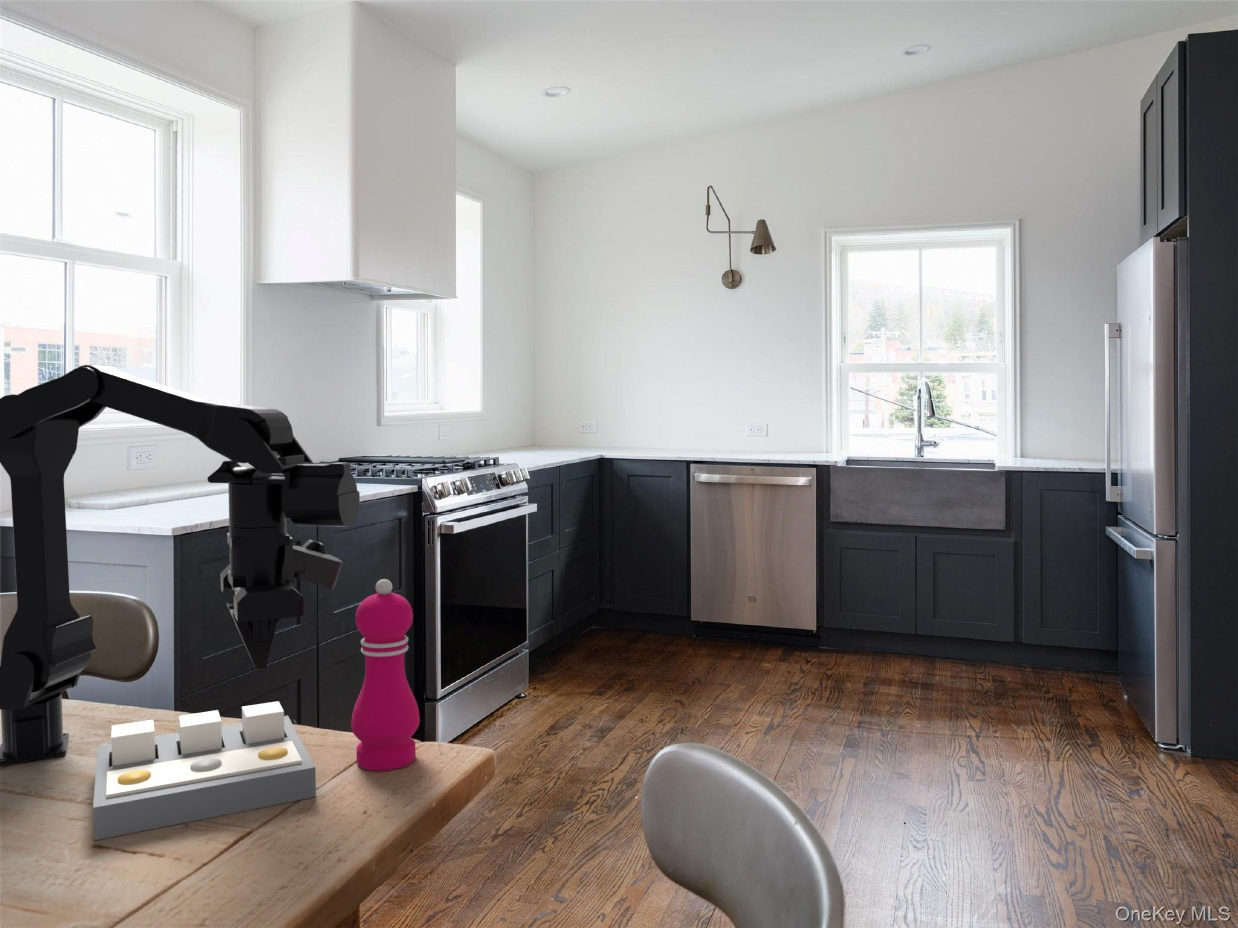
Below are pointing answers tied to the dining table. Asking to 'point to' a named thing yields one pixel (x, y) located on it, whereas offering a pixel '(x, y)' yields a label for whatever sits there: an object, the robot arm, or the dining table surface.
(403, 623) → the pepper mill
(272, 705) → the button
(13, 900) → the dining table surface
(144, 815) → the button panel
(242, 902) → the dining table surface
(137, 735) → the button
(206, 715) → the middle button
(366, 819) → the dining table surface
